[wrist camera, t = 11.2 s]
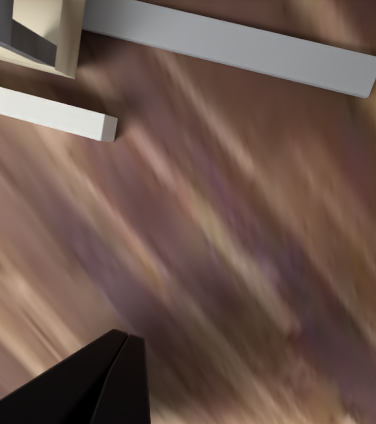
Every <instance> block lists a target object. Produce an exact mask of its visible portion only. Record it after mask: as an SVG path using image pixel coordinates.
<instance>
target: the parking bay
mask: <svg viewBox="0 0 376 424" xmlns="http://www.w3.org/2000/svg"><path fill="white" fill-rule="evenodd" d="M82 30H86V31H90V32H94V33H98V34H102V35H106V36H110V37H114V38H119V39H123V40H127V41H131V42H135V43H139V44H143V45H147V46H151V47H156V48H160V49H164V50H168V51H172V52H176V53H180V54H184V55H188V56H192V57H197V58H201V59H205V60H209V61H213V62H217V63H221V64H225V65H229V66H234V67H238V68H242V69H246V70H250V71H254V72H258V73H262V74H266V75H270V76H275V77H279V78H283V79H287V80H291V81H295V82H299V83H303V84H307V85H311V86H316V87H320V88H324V89H328V90H332V91H336V92H340V93H344V94H348V95H353V96H357V97H361V98H368V97H369V94H370V92H371V89H372V87H373V84H374V82H375V79H376V57H375V56H371V55H367V54H363V53H358V52H354V51H350V50H345V49H341V48H337V47H333V46H328V45H324V44H320V43H315V42H311V41H307V40H303V39H298V38H294V37H290V36H286V35H281V34H277V33H273V32H268V31H264V30H260V29H256V28H251V27H247V26H243V25H239V24H234V23H230V22H226V21H221V20H217V19H213V18H209V17H204V16H200V15H196V14H191V13H187V12H183V11H179V10H174V9H170V8H166V7H162V6H157V5H153V4H149V3H144V2H140V1H136V0H86V1H85V9H84V16H83V23H82ZM0 114H2V115H6V116H10V117H14V118H17V119H21V120H25V121H28V122H32V123H36V124H40V125H43V126H47V127H51V128H55V129H58V130H62V131H66V132H69V133H73V134H77V135H81V136H84V137H88V138H92V139H95V140H99V141H112V142H114V138H115V132H116V126H117V121H118V118H115V117H112V116H108V115H105V114H101V113H97V112H93V111H89V110H86V109H82V108H78V107H74V106H70V105H67V104H63V103H59V102H55V101H51V100H47V99H44V98H40V97H36V96H32V95H28V94H25V93H21V92H17V91H13V90H9V89H6V88H2V87H0Z"/></svg>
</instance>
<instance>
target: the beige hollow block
mask: <svg viewBox="0 0 376 424" xmlns="http://www.w3.org/2000/svg"><path fill="white" fill-rule="evenodd" d="M85 1H86V0H0V60H2V61H6V62H10V63H14V64H18V65H22V66H26V67H30V68H33V69H37V70H41V71H45V72H49V73H53V74H57V75H61V76H65V77H69V78H73V79H75V76H76V68H77V61H78V53H79V46H80V38H81V31H82V23H83V16H84V9H85Z"/></svg>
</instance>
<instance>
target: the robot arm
mask: <svg viewBox="0 0 376 424" xmlns="http://www.w3.org/2000/svg"><path fill="white" fill-rule="evenodd" d="M0 424H151V418H150V404H149V390H148V376H147V362H146V348H145V339H144V338H143V337H140V336H137V335H133V334H130V335H129V336H128V333H127V332H124V331H121V330H117V329H112V330H110V331H109V332H107V333H106V334H104V335H102V336H101V337H99V338H98V339H96V340H95V341H93V342H91V343H90V344H88V345H87V346H85V347H83V348H82V349H80V350H79V351H77V352H75V353H74V354H72V355H71V356H69V357H67V358H66V359H64V360H63V361H61V362H59V363H58V364H56V365H55V366H53V367H51V368H50V369H48V370H47V371H45V372H44V373H42V374H40V375H39V376H37V377H36V378H34V379H32V380H31V381H29V382H28V383H26V384H24V385H23V386H21V387H20V388H18V389H16V390H15V391H13V392H12V393H10V394H8V395H7V396H5V397H4V398H2V399H0Z"/></svg>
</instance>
